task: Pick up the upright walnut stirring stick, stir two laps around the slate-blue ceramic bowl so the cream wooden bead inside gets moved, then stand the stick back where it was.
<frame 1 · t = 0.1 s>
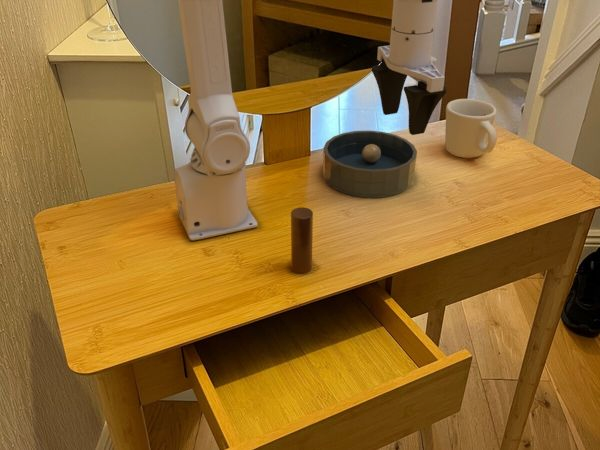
hand: (403, 123, 91), 10 cm above the table, tool pointing down, fingers open, 7 cm apart
bead: (371, 153, 100), point 2 cm above the table, touching bowl
bowl: (368, 175, 99), on the table
cup: (468, 156, 105), on the table
stick: (301, 267, 78), on the table
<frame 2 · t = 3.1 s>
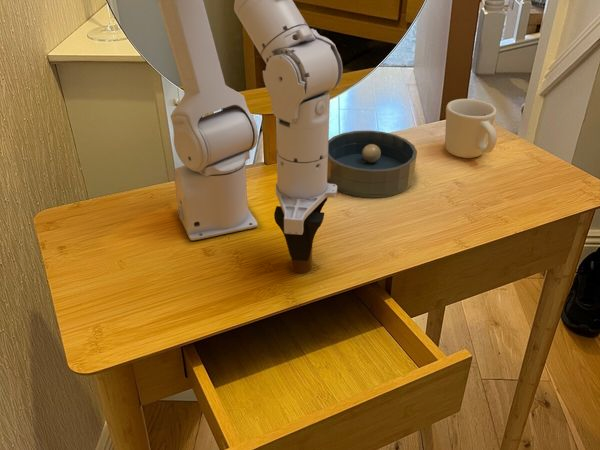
hand: (301, 251, 77), 2 cm above the table, tool pointing down, fingers closed on stick, 2 cm apart
stick: (301, 267, 78), on the table, touching gripper
everything else where it was.
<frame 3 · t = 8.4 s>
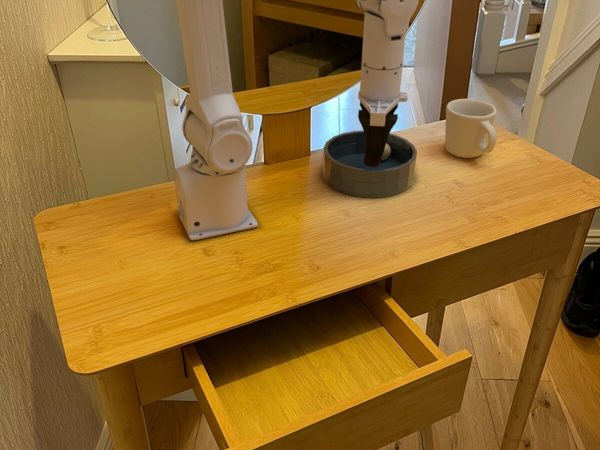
hand: (375, 151, 95), 5 cm above the table, tool pointing down, fingers closed on stick, 2 cm apart
bead: (381, 151, 101), point 2 cm above the table, tilted 72°, touching bowl
stick: (371, 163, 96), point 3 cm above the table, tilted 6°, touching gripper
everything else where it was.
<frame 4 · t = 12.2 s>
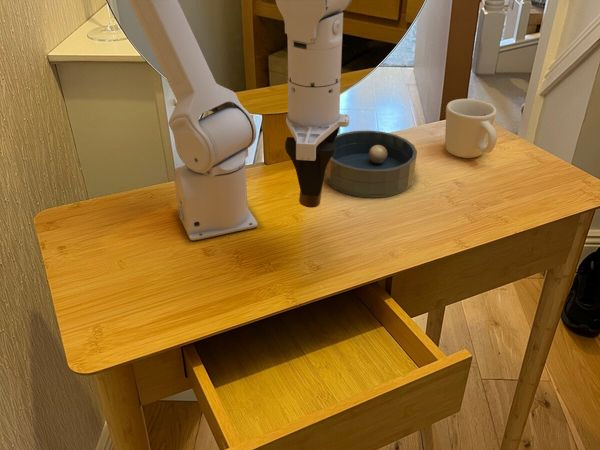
hand: (312, 187, 75), 10 cm above the table, tool pointing down, fingers closed on stick, 2 cm apart
bead: (378, 154, 100), point 2 cm above the table, tilted 35°, touching bowl
stick: (309, 202, 76), point 8 cm above the table, tilted 6°, touching gripper
everything else where it was.
when the fingers open (2 cm above the table, at t = 14.9 s): stick stays where it is, on the table.
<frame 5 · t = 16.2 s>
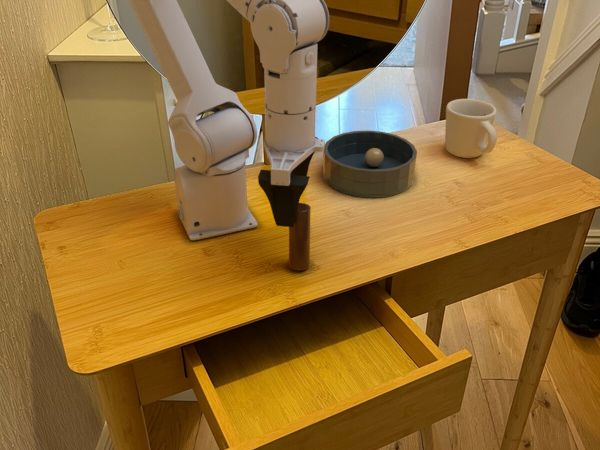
hand: (290, 208, 77), 7 cm above the table, tool pointing down, fingers open, 7 cm apart
bead: (374, 157, 99), point 2 cm above the table, tilted 43°, touching bowl
stick: (299, 265, 78), on the table, tilted 8°
everything else where it was.
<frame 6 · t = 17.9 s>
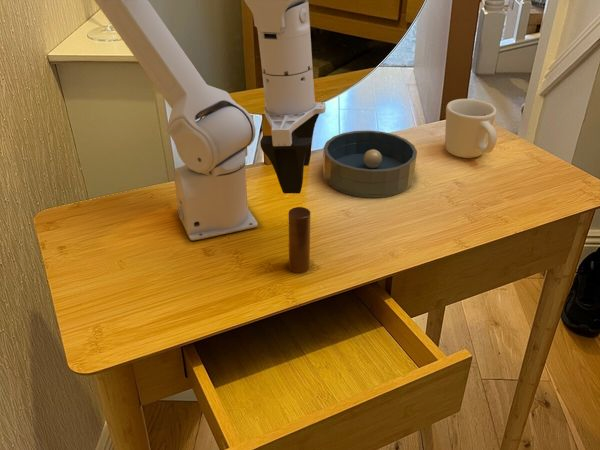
hand: (296, 177, 77), 10 cm above the table, tool pointing down, fingers open, 7 cm apart
bead: (372, 158, 99), point 2 cm above the table, tilted 60°, touching bowl
stick: (299, 266, 78), on the table
everything else where it was.
at the end: bead moved 2.0 cm from its start; bead inside the target area in the bowl (1.6 cm from its centre), point 2.1 cm above the bowl's base; stick tilted 0° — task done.
